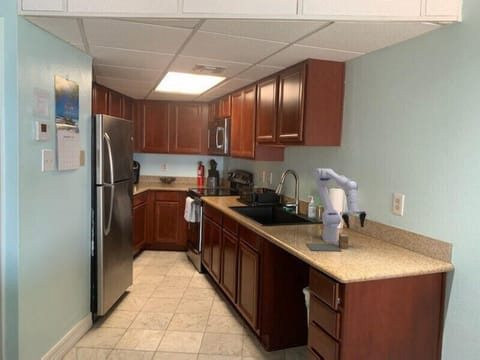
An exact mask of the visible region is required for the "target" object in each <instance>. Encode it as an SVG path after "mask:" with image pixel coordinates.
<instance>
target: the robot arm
mask: <svg viewBox="0 0 480 360" xmlns="http://www.w3.org/2000/svg"><path fill="white" fill-rule="evenodd" d="M313 177H314V180H315V183H316V187H317V190H318V194H319V197H320V200H321V201H320V202H321V204H322V206H323V210H324V211H323V212H322V214H321V222H322V223H323V225H324V227H323V234H322V235H323V236H322V237H321V239H322V240H323V241H324V242H326V243H327V242H329V243H334V242H335V243H339V239H338V227H339V225H340V224H341V221H342V220H343V221H344V223H345V225H346V229H350V228H351V227H350V220H349V219H350V217H349V215H358V218H359V222H360V228H364V227H365V226H364V225H365V220H366V217H367V214H368V210H367V209H359V202H358V201H359V200H358V193H357V191H358V189H359V185H358V182H356V180H353V181H352V180H351V179H350V178H347V177H346V176H345V174H344V175H339V174H338V173H336V172H335V171H334V170H333V169H332V168H330V167H329V168H320V167H317V168H315V170H314V173H313ZM331 180H332V181H333V180H334V181H335V184H336V185H338V186H339V187H340V188H342V190H343V192H344V195H345V199H346V207H347V210H346V211H345V210H344V211H340V212H338V210H336V209H334V206H333V203H332V199H331V197H330V193H329V190H328V186H327V184H329V183H330V181H331Z"/></svg>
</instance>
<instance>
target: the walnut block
mask: <svg viewBox="0 0 480 360" xmlns="http://www.w3.org/2000/svg"><path fill="white" fill-rule="evenodd" d="M349 236H350V235H349V233H345V232H339V233H338V241H339V242H338V246H337V247H338V248H339V249H340V250H349Z"/></svg>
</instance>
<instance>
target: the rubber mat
mask: <svg viewBox="0 0 480 360" xmlns="http://www.w3.org/2000/svg"><path fill="white" fill-rule="evenodd" d="M305 245H306V247H308V248H309V250H310V251H311V252H335V253H336V252H337V253H338V252H342V249H340V248H339V247H338V246H337V245H336V244H335V243H319V242H318V243H313V242H309V243H307V242H306V243H305Z"/></svg>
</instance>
